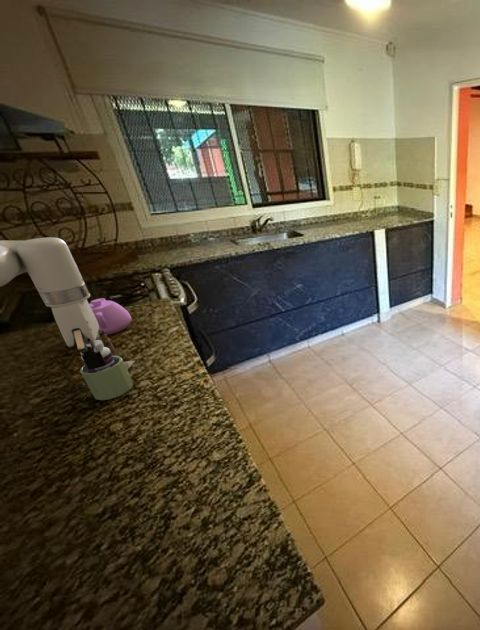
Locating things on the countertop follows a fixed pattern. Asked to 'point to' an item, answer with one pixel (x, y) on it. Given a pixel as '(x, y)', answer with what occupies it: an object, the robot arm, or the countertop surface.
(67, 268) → the robot arm
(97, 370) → the pill bottle
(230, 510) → the countertop surface
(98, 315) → the teapot
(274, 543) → the countertop surface
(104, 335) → the condiment
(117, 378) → the mug
